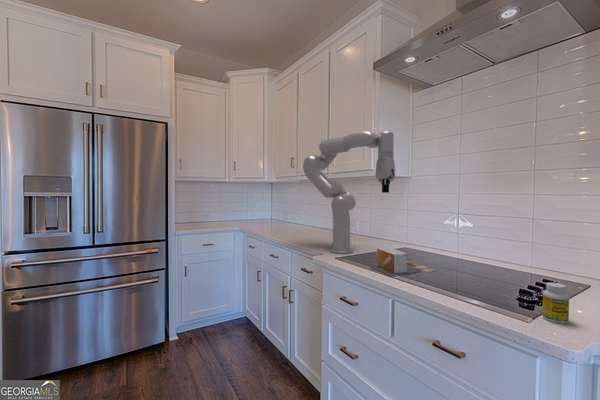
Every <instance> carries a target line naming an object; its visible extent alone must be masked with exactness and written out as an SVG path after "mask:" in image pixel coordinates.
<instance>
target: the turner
mask: <svg viewBox="0 0 600 400" xmlns="http://www.w3.org/2000/svg"><path fill="white" fill-rule="evenodd" d="M407 266H409V267H412V268H413V269H416V270H419V271H421V272H423V273H433V272H436V269H434V268H430V267H428V266H425V265H420V264H416V263H414V262H411V261H408V260H407Z"/></svg>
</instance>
